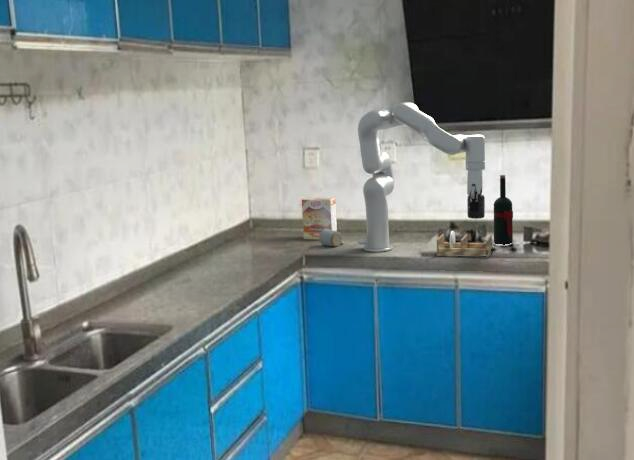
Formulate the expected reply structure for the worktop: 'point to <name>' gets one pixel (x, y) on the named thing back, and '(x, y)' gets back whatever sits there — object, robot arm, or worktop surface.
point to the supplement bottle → (481, 207)
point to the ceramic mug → (330, 238)
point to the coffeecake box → (318, 216)
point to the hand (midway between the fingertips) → (475, 209)
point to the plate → (452, 239)
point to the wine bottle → (503, 217)
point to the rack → (464, 247)
